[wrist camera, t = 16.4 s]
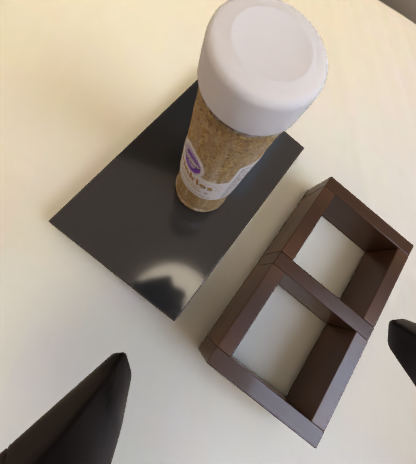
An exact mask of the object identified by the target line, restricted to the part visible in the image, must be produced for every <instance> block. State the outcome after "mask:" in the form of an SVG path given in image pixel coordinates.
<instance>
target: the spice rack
mask: <svg viewBox="0 0 416 464" xmlns="http://www.w3.org/2000/svg"><path fill="white" fill-rule="evenodd" d="M321 216H324V217H325V218H326V219H327V220H328V221H330V222H331V223H332V224H333V225H334V226H336V227H337V228H338V229H339V230H340V231H342V232H343V233H344V234H345V235H346V236H348V237H349V238H350V239H351V240H352V241H354V242H355V243H356V244H357V245H358V246H360V247H361V248H362V249H363V250H364V251H366V253H365V255H364V257H363V259H362V261H361V262H360V264H359V266H358V268H357V270H356V272H355V273H354V275H353V277H352V279H351V281H350V283H349V284H348V286H347V288H346V290H345V292H344V294H343V295H342V297H341V299H339V298H337V297H336V296H335V295H334V294H332V293H331V292H330V291H329V290H328V289H326V288H325V287H324V286H323V285H322V284H320V283H319V282H318V281H317V280H315V279H314V278H313V277H312V276H311V275H309V274H308V273H307V272H306V271H305V270H303V269H302V268H301V267H300V266H298V265H297V264H296V263H295V262H294V261H292V260H293V259H294V258H295V256H296V255H297V253H298V252H299V250H300V248H301V247H302V245H303V244H304V242H305V241H306V239H307V238H308V236H309V235H310V233H311V231H312V230H313V228H314V227H315V225H316V224H317V222H318V221H319V219H320V217H321ZM412 248H413V245H412V244H411V243H410V242H408V241H407V240H406V239H405V238H404V237H403V236H401V235H400V234H399V233H398V232H397V231H395V230H394V229H393V228H392V227H391V226H390V225H388V224H387V223H386V222H385V221H384V220H382V219H381V218H380V217H379V216H378V215H376V214H375V213H374V212H373V211H372V210H371V209H369V208H368V207H367V206H366V205H365V204H363V203H362V202H361V201H360V200H359V199H358V198H356V197H355V196H354V195H353V194H352V193H350V192H349V191H348V190H347V189H346V188H345V187H343V186H342V185H341V184H340V183H339V182H337V181H336V180H335V179H334V178H333V177H330V178H328V179H326V180H325V181H323V182H321V183H320V184H318V185H316V186H315V187H313V188H311V189H310V190H308V191H307V192H306V194H305V195H304V197H303V199H302V200H301V201H300V203H299V204H298V205H297V207H296V208H295V210H294V211H293V213H292V214H291V216H290V217H289V218H288V220H287V221H286V223H285V224H284V226H283V227H282V229H281V230H280V231H279V233H278V234H277V236H276V237H275V239H274V240H273V242H272V243H271V244H270V246H269V247H268V249H267V250H266V252H265V253H264V255H263V256H262V257H261V259H260V260H259V262H258V263H257V265H256V266H255V267H254V269H253V270H252V272H251V273H250V275H249V276H248V278H247V279H246V280H245V282H244V283H243V285H242V286H241V288H240V289H239V291H238V292H237V293H236V295H235V296H234V298H233V299H232V301H231V302H230V304H229V305H228V306H227V308H226V309H225V311H224V312H223V314H222V315H221V317H220V318H219V319H218V321H217V322H216V324H215V325H214V327H213V328H212V330H211V331H210V332H209V334H208V336H207V337H206V338H205V340H204V341H203V342H202V344H201V345H200V347H199V348H198V349H199V351H200V352H201V354H202V355H203V357H204V359H205V360H206V362H207V363H208V364H209V365H210V366H212V367H213V368H214V369H215V370H217V371H218V372H219V373H221V374H222V375H223V376H224V377H226V378H227V379H228V380H229V381H231V382H232V383H233V384H234V385H236V386H237V387H238V388H239V389H241V390H242V391H243V392H245V393H246V394H247V395H248V396H250V397H251V398H252V399H253V400H255V401H256V402H257V403H258V404H260V405H261V406H262V407H264V408H265V409H266V410H267V411H269V412H270V413H271V414H272V415H274V416H275V417H276V418H277V419H279V420H280V421H281V422H283V423H284V424H285V425H286V426H288V427H289V428H290V429H291V430H293V431H294V432H295V433H296V434H298V435H299V436H300V437H302V438H303V439H304V440H305V441H307V442H308V443H309V444H310V445H312V446H313V447H314V448H317V446H318V443H319V441H320V439H321V437H322V435H323V433H324V431H325V429H326V427H327V425H328V423H329V421H330V419H331V417H332V414H333V412H334V410H335V408H336V406H337V404H338V402H339V400H340V398H341V396H342V394H343V392H344V390H345V387H346V385H347V383H348V381H349V379H350V377H351V375H352V373H353V371H354V369H355V367H356V365H357V363H358V361H359V358H360V356H361V354H362V352H363V350H364V348H365V346H366V344H367V342H368V341H367V340H368V339H369V337H370V335H371V333H372V331H373V329H374V327H375V325H376V323H377V321H378V318H379V316H380V314H381V312H382V310H383V308H384V306H385V304H386V302H387V300H388V298H389V296H390V294H391V291H392V289H393V287H394V285H395V283H396V281H397V279H398V277H399V275H400V273H401V271H402V269H403V267H404V265H405V262H406V260H407V258H408V256H409V254H410V252H411V250H412ZM277 284H279V285H280V286H281V287H282V288H284V289H285V290H286V291H287V292H288V293H290V294H291V295H292V296H293V297H295V298H296V299H297V300H298V301H300V302H301V303H302V304H303V305H304V306H306V307H307V308H308V309H309V310H311V311H312V312H313V313H314V314H315V315H317V316H318V317H319V318H320V319H322V320H323V321H324V322H325V323H326V326H325V328H324V330H323V332H322V333H321V335H320V337H319V339H318V341H317V343H316V344H315V346H314V348H313V350H312V352H311V354H310V355H309V357H308V359H307V361H306V363H305V364H304V366H303V368H302V370H301V372H300V374H299V375H298V377H297V379H296V381H295V383H294V385H293V386H292V388H291V390H290V392H289V394H288V396H287V397H286V398H285V397H284V396H282V395H281V394H280V393H279V392H277V391H276V390H275V389H273V388H272V387H271V386H270V385H268V384H267V383H266V382H265V381H263V380H262V379H261V378H260V377H258V376H257V375H256V374H255V373H253V372H252V371H251V370H250V369H248V368H247V367H246V366H245V365H243V364H242V363H241V362H240V361H238V360H237V359H236V358H235V357H233V356H232V354H233V353H234V351H235V350H236V348H237V346H238V345H239V343H240V342H241V340H242V339H243V337H244V336H245V334H246V332H247V331H248V329H249V328H250V326H251V325H252V323H253V322H254V320H255V319H256V317H257V315H258V314H259V312H260V311H261V309H262V308H263V306H264V305H265V303H266V301H267V300H268V298H269V297H270V295H271V294H272V292H273V291H274V289H275V287H276V286H277Z"/></svg>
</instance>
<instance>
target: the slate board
mask: <svg viewBox="0 0 416 464" xmlns="http://www.w3.org/2000/svg"><path fill="white" fill-rule="evenodd" d="M198 87H199V85H198V80H197V81H196V82H194V83H193V84H192V85H191V86H190V87H189V88H188V89H187V90H186V91H185V92H184V93H183V94H182V95H181V96H180V97H179V98H178V99H177V100H176V101H174V102H173V103H172V104H171V105H170V106H169V107H168V108H167V109H166V110H165V111H164V112H163V113H162V114H161V115H160V116H159V117H158V118H157V119H156V120H154V121H153V122H152V123H151V124H150V125H149V126H148V127H147V128H146V129H145V130H144V131H143V132H142V133H141V134H140V135H139V136H138V137H137V138H136V139H134V140H133V141H132V142H131V143H130V144H129V145H128V146H127V147H126V148H125V149H124V150H123V151H122V152H121V153H120V154H119V155H118V156H117V157H116V158H114V159H113V160H112V161H111V162H110V163H109V164H108V165H107V166H106V167H105V168H104V169H103V170H102V171H101V172H100V173H99V174H98V175H97V176H96V177H94V178H93V179H92V180H91V181H90V182H89V183H88V184H87V185H86V186H85V187H84V188H83V189H82V190H81V191H80V192H79V193H78V194H77V195H76V196H75V197H73V198H72V199H71V200H70V201H69V202H68V203H67V204H66V205H65V206H64V207H63V208H62V209H61V210H60V211H59V212H58V213H57V214H56V215H55V216H53V217H52V218H51V219H50V220H49V222H50V223H51V224H52V225H53V226H55V227H56V228H57V229H59V230H60V231H61V232H62V233H64V234H65V235H66V236H67V237H69V238H70V239H71V240H72V241H74V242H75V243H76V244H77V245H79V246H80V247H81V248H82V249H84V250H85V251H86V252H88V253H89V254H90V255H91V256H93V257H94V258H95V259H96V260H98V261H99V262H100V263H101V264H103V265H104V266H105V267H106V268H108V269H109V270H110V271H111V272H113V273H114V274H115V275H117V276H118V277H119V278H120V279H122V280H123V281H124V282H125V283H127V284H128V285H129V286H130V287H132V288H133V289H134V290H135V291H137V292H138V293H139V294H140V295H142V296H143V297H144V298H146V299H147V300H148V301H149V302H151V303H152V304H153V305H154V306H156V307H157V308H158V309H159V310H161V311H162V312H163V313H164V314H166V315H167V316H168V317H169V318H171V319H172V320H173V321H175V320H176V319H177V317H178V316H179V315H180V313H181V312H182V311H183V309H184V308H185V307H186V305H187V304H188V303H189V301H190V300H191V299H192V297H193V296H194V295H195V293H196V292H197V291H198V289H199V288H200V287H201V285H202V284H203V283H204V281H205V280H206V279H207V277H208V276H209V275H210V273H211V272H212V271H213V269H214V268H215V267H216V265H217V264H218V262H219V261H220V260H221V258H222V257H223V256H224V254H225V253H226V252H227V250H228V249H229V248H230V246H231V245H232V244H233V242H234V241H235V240H236V238H237V237H238V236H239V234H240V233H241V232H242V230H243V229H244V228H245V226H246V225H247V224H248V222H249V221H250V220H251V218H252V217H253V216H254V214H255V213H256V212H257V210H258V209H259V208H260V206H261V205H262V204H263V202H264V201H265V200H266V198H267V197H268V196H269V194H270V193H271V192H272V190H273V189H274V188H275V186H276V185H277V184H278V182H279V181H280V180H281V178H282V177H283V176H284V174H285V173H286V172H287V170H288V169H289V168H290V166H291V165H292V164H293V162H294V161H295V160H296V158H297V157H298V156H299V154H300V153H301V152H302V150H303V149H304V147H302V146H301V145H300V144H299V143H298V142H297V141H295V140H294V139H293V138H292V137H291V136H289V135H288V134H287V133H286V132H285V131H283V132H282V133H281V134H279V135H278V137H277V138H276V139H275V140H274V141H273V142H272V144H271V145H270V146H269V147H268V148H267V149H266V151H265V152H264V154H263V155H262V157H261V158H260V159H259V160H258V162H257V163H256V164H255V165H254V166H253V167H252V168H251V170H250V171H249V172H248V173H247V174H246V175H245V177H244V178H243V179H242V180H241V181H240V183H239V184H238V185H237V186H236V187H235V189H234V190H233V191H232V192H231V193H230V194H229V195H228V196H227V197H226V199H225V201H224V202H223V204H221V205H220V206H219V207H218V208H217V209H215V210H212V211H209V212H198V211H194V210H192V209H190V208H188V207H187V206H185V205H184V204H183V203H182V202H181V201H180V199H179V197H178V195H177V192H176V178H177V175H178V174H179V171H180V162H181V158H182V153H183V149H184V144H185V140H186V137H187V135H188V131H189V127H190V123H191V119H192V114H193V108H194V105H195V101H196V97H197V92H198Z"/></svg>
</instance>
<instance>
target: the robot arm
mask: <svg viewBox="0 0 416 464" xmlns="http://www.w3.org/2000/svg"><path fill="white" fill-rule="evenodd" d="M388 345H389V347H390V349H391V351H392V352H393V353H394V355H395V356H396V358H397V359H398V361H399V362H400V364H401V365H402V367H403V368H404V370H405V371H406V373H407V374H408V376H409V377H410V379H411V380H412V382H413V383H414V385H415V386H416V323H413V322H411V321H408V320H405V319H397V320H391V321H390V322H389V328H388ZM130 381H131V369H130V366H129V362H128V359H127V355H126V354H125V353H124V352H122V353H114V354H112V355H111V356H110V357H109V358H107V359H106V360H105V361H104V362H103V363H102V364H101V365H100V366H98V367H97V368H96V369H95V370H94V371H93V372H92V373H91V374H89V375H88V376H87V377H86V378H85V379H84V380H83V381H82V382H80V383H79V384H78V385H77V386H76V387H75V388H74V389H73V390H71V391H70V392H69V393H68V394H67V395H66V396H65V397H64V398H62V399H61V400H60V401H59V402H58V403H57V404H56V405H55V406H53V407H52V408H51V409H50V410H49V411H48V412H47V413H46V414H44V415H43V416H42V417H41V418H40V419H39V420H38V421H37V422H35V423H34V424H33V425H32V426H31V427H30V428H29V429H27V430H26V431H25V432H24V433H23V434H22V435H21V436H20V437H18V438H17V439H16V440H15V441H14V442H13V443H12V444H11V445H10V446H9V447H8V449H5V450H4V451H3V452H1V453H0V464H111V462H112V458H113V455H114V451H115V448H116V445H117V441H118V438H119V434H120V430H121V426H122V422H123V417H124V412H125V407H126V402H127V397H128V391H129V386H130Z"/></svg>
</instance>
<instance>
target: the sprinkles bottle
mask: <svg viewBox="0 0 416 464" xmlns="http://www.w3.org/2000/svg"><path fill="white" fill-rule="evenodd" d="M327 72H328V59H327V53H326V49H325V46H324V43H323V41H322V39H321V37H320V35H319V33H318V32H317V30H316V29H315V27H314V26H313V25H312V24H311V22H310V21H309V20H308V19H307V18H306V17H305V16H304V15H303V14H302V13H300V12H299V11H298V10H297V9H295V8H294V7H292V6H291V5H289V4H287V3H285V2H283V1H281V0H228V1H227V2H225V3H224V4H222V5H221V6H220V7H219V8H218V9H217V10H216V11H215V13H214V14H213V16H212V17H211V19H210V21H209V23H208V26H207V29H206V32H205V36H204V41H203V45H202V49H201V54H200V59H199V64H198V71H197V77H198V85H199V87H198V92H197V97H196V101H195V105H194V108H193V114H192V119H191V123H190V127H189V131H188V135H187V137H186V140H185V144H184V149H183V153H182V158H181V162H180V171H179V174H178V175H177V178H176V192H177V195H178V197H179V199H180V201H181V202H182V203H183V204H184V205H185V206H187V207H188V208H190V209H192V210H194V211H198V212H209V211H212V210H215V209H217V208H218V207H219V206H220V205H221V204H223V202H224V201H225V199H226V197H227V196H228V195H229V194H230V193H231V192H232V191H233V190H234V189H235V187H236V186H237V185H238V184H239V183H240V181H241V180H242V179H243V178H244V177H245V175H246V174H247V173H248V172H249V171H250V170H251V168H252V167H253V166H254V165H255V164H256V163H257V162H258V160H259V159H260V158H261V157H262V155H263V154H264V152H265V151H266V149H267V148H268V147H269V146H270V145H271V144H272V142H273V141H274V140H275V139H276V138H277V137H278V135H279V134H281V133H282V132H283V131H285V130H287V129H288V128H290V127H291V126H292V125H293V124H294V123H295V122H296V121H297V120H298V119H299V118H300V116H301V115H302V114H303V113H304V112H305V111H306V110H307V108H308V107H309V106H310V105H311V104H312V103H313V101H314V100H315V99H316V98H317V96H318V95H319V93H320V92H321V90H322V88H323V86H324V84H325V81H326V78H327Z"/></svg>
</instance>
